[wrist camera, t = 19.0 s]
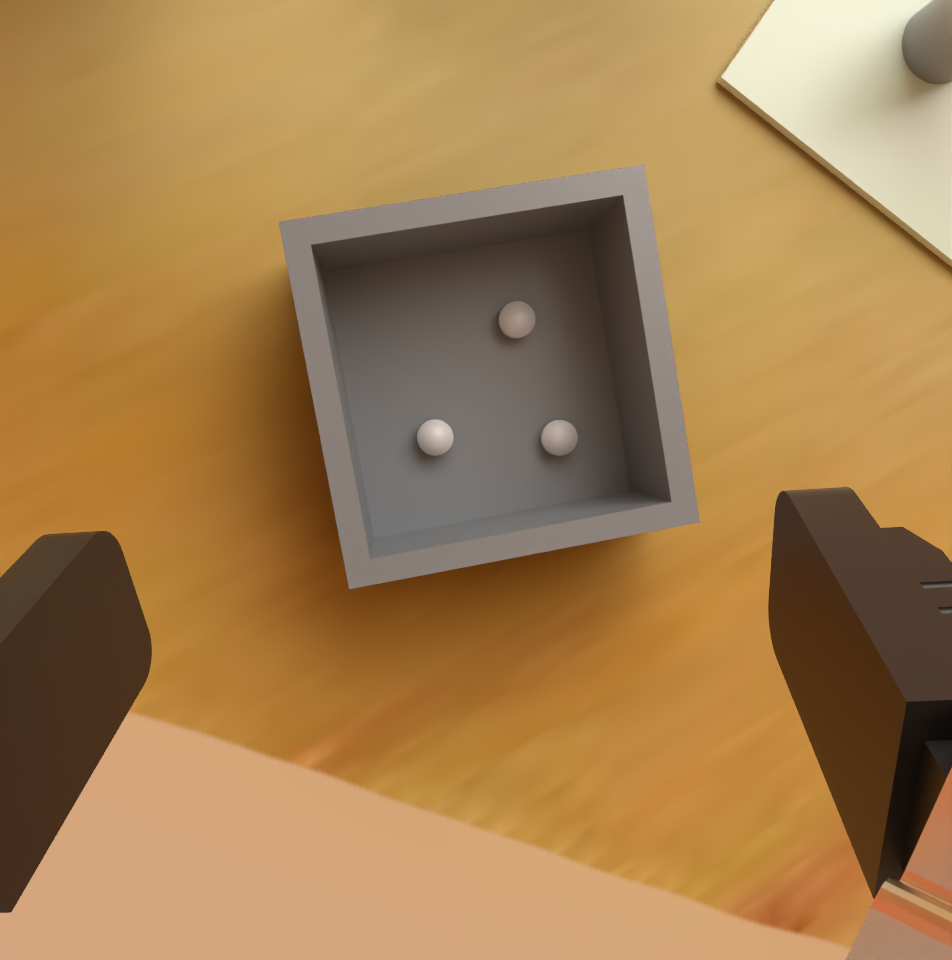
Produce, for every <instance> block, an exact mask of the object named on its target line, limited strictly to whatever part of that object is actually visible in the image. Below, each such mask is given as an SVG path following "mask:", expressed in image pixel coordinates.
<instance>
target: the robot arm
mask: <svg viewBox="0 0 952 960" xmlns="http://www.w3.org/2000/svg"><path fill="white" fill-rule="evenodd" d="M768 609H769V626H770V633H771V639H772V644H773V648H774V652H775V655H776V658H777V660H778V663H779V665H780V668H781V670H782V673H783V675H784V678H785V680H786V683H787V685H788V688H789V690H790V693H791V695H792V698H793V700H794V703H795V705H796V708H797V710H798V713H799V715H800V717H801V720H802V722H803V725H804V727H805V730H806V732H807V735H808V737H809V740H810V742H811V745H812V747H813V750H814V752H815V755H816V757H817V760H818V762H819V765H820V767H821V770H822V772H823V774H824V777H825V779H826V782H827V784H828V787H829V789H830V792H831V794H832V797H833V799H834V802H835V804H836V807H837V809H838V812H839V814H840V817H841V819H842V822H843V824H844V827H845V829H846V832H847V834H848V836H849V839H850V841H851V844H852V846H853V849H854V851H855V854H856V856H857V859H858V861H859V864H860V866H861V869H862V871H863V874H864V876H865V879H866V881H867V884H868V886H869V889H870V891H871V893H872V896H873V898H874V901H873V903H872V905H871V907H870V909H869V911H868V914H867V916H866V918H865V920H864V922H863V924H862V926H861V928H860V931H859V933H858V935H857V937H856V939H855V941H854V943H853V945H852V947H851V950H850V952H849V954H848V956H847V958H846V960H952V562H951V561H950V560H949V559H948V557H947V556H946V555H945V554H944V553H943V551H942V550H940V549H938V548H937V547H935V546H933V545H932V544H930V543H928V542H927V541H925V540H923V539H922V538H920V537H918V536H917V535H915V534H913V533H912V532H910V531H909V530H907V529H905V528H904V527H892V528H880V527H879V525H878V524H877V523H876V521H875V520H874V518H873V517H872V516H871V514H870V513H869V511H868V510H867V509H866V507H865V506H864V504H863V503H862V502H861V500H860V499H859V498H858V496H857V495H856V493H855V492H854V491H853V490H852V489H851V488H849V487H841V488H824V489H808V490H791V491H782V492H780V494H779V495H778V498H777V501H776V506H775V516H774V530H773V545H772V559H771V574H770V588H769V605H768ZM151 655H152V647H151V638H150V633H149V630H148V627H147V624H146V621H145V618H144V615H143V612H142V609H141V606H140V603H139V600H138V597H137V594H136V591H135V588H134V585H133V582H132V579H131V576H130V573H129V570H128V567H127V564H126V561H125V558H124V555H123V552H122V549H121V546H120V544H119V543H118V541H117V539H116V538H115V537H114V536H113V535H112V534H111V533H109V532H107V531H94V532H78V533H62V534H47V535H43V536H41V537H40V538H39V539H37V540H36V541H35V542H34V543H33V544H32V545H31V546H30V547H29V549H28V550H27V551H26V552H25V553H24V554H23V555H22V556H21V557H20V558H19V559H18V560H17V561H16V562H15V563H14V564H13V565H12V566H11V567H10V568H9V569H8V570H7V571H6V572H5V573H4V575H3V576H2V577H1V578H0V913H3V912H4V913H8V912H12V910H13V908H14V907H15V905H16V903H17V901H18V900H19V898H20V896H21V895H22V893H23V891H24V889H25V888H26V886H27V884H28V883H29V881H30V879H31V877H32V876H33V874H34V872H35V870H36V869H37V867H38V865H39V864H40V862H41V860H42V859H43V857H44V855H45V853H46V852H47V850H48V848H49V847H50V845H51V843H52V841H53V840H54V838H55V836H56V835H57V833H58V831H59V830H60V827H61V826H62V824H63V823H64V821H65V819H66V818H67V816H68V814H69V812H70V811H71V809H72V807H73V806H74V804H75V802H76V800H77V799H78V797H79V795H80V793H81V792H82V790H83V788H84V787H85V785H86V783H87V782H88V780H89V778H90V776H91V775H92V773H93V771H94V769H95V768H96V766H97V764H98V763H99V761H100V759H101V758H102V756H103V754H104V752H105V750H106V749H107V747H108V745H109V744H110V742H111V740H112V739H113V737H114V735H115V734H116V732H117V730H118V728H119V727H120V725H121V723H122V721H123V720H124V718H125V716H126V715H127V713H128V711H129V710H130V708H131V706H132V704H133V703H134V701H135V699H136V698H137V696H138V694H139V692H140V691H141V689H142V687H143V686H144V684H145V682H146V679H147V677H148V674H149V670H150V665H151Z"/></svg>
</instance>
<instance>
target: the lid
mask: <svg viewBox="0 0 952 960" xmlns="http://www.w3.org/2000/svg"><path fill="white" fill-rule="evenodd" d="M717 83H719V84H720V85H721V86H722V87H724V88H725V89H726V90H728V91H729V92H730V93H731V94H733V95H734V96H735V97H736V98H738V99H739V100H740V101H741V102H743V103H744V104H745V105H747V106H748V107H749V108H750V109H752V110H753V111H754V112H755V113H757V114H758V115H759V116H760V117H762V118H763V119H764V120H766V121H767V122H768V123H769V124H771V125H772V126H773V127H774V128H776V129H777V130H778V131H779V132H781V133H782V134H783V135H785V136H786V137H787V138H788V139H790V140H791V141H792V142H793V143H795V144H796V145H797V146H798V147H800V148H801V149H802V150H804V151H805V152H806V153H807V154H809V155H810V156H811V157H812V158H814V159H815V160H816V161H817V162H819V163H820V164H821V165H823V166H824V167H825V168H826V169H828V170H829V171H830V172H831V173H833V174H834V175H835V176H836V177H838V178H839V179H840V180H842V181H843V182H844V183H845V184H847V185H848V186H849V187H850V188H852V189H853V190H854V191H855V192H857V193H858V194H859V195H861V196H862V197H863V198H864V199H866V200H867V201H868V202H869V203H871V204H872V205H873V206H874V207H876V208H877V209H878V210H880V211H881V212H882V213H883V214H885V215H886V216H887V217H888V218H890V219H891V220H892V221H893V222H895V223H896V224H897V225H899V226H900V227H901V228H902V229H904V230H905V231H906V232H907V233H909V234H910V235H911V236H912V237H914V238H915V239H916V240H918V241H919V242H920V243H921V244H923V245H924V246H925V247H926V248H928V249H929V250H930V251H932V252H933V253H934V254H935V255H937V256H938V257H939V258H940V259H942V260H943V261H944V262H945V263H947V264H948V265H949V266H951V267H952V0H773V2H772V3H771V5H770V6H769V7H768V9H767V10H766V12H765V13H764V15H763V16H762V18H761V19H760V20H759V22H758V23H757V25H756V26H755V28H754V29H753V31H752V32H751V33H750V35H749V36H748V38H747V39H746V41H745V42H744V43H743V45H742V46H741V48H740V49H739V51H738V52H737V54H736V55H735V56H734V58H733V59H732V61H731V62H730V64H729V65H728V67H727V68H726V69H725V71H724V72H723V74H722V75H721V77H720V78H719V79H718V81H717Z"/></svg>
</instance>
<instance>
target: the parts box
mask: <svg viewBox="0 0 952 960" xmlns="http://www.w3.org/2000/svg"><path fill="white" fill-rule="evenodd" d="M279 226H280V231H281V236H282V242H283V247H284V252H285V257H286V262H287V268H288V273H289V278H290V283H291V289H292V294H293V299H294V304H295V309H296V315H297V320H298V325H299V330H300V336H301V341H302V346H303V351H304V356H305V362H306V367H307V372H308V377H309V383H310V388H311V393H312V398H313V403H314V409H315V414H316V419H317V424H318V430H319V435H320V440H321V445H322V451H323V456H324V461H325V466H326V471H327V477H328V482H329V487H330V492H331V498H332V503H333V508H334V513H335V518H336V524H337V529H338V534H339V539H340V545H341V550H342V555H343V560H344V565H345V571H346V576H347V581H348V586H349V589H354V588H359V587H364V586H370V585H375V584H380V583H385V582H390V581H396V580H401V579H406V578H411V577H417V576H422V575H427V574H432V573H437V572H443V571H448V570H453V569H458V568H464V567H469V566H474V565H479V564H484V563H490V562H495V561H500V560H505V559H511V558H516V557H521V556H526V555H531V554H537V553H542V552H547V551H552V550H558V549H563V548H568V547H573V546H578V545H584V544H589V543H594V542H599V541H604V540H610V539H615V538H620V537H625V536H631V535H636V534H641V533H646V532H651V531H657V530H662V529H667V528H672V527H678V526H683V525H688V524H693V523H698V522H700V520H699V513H698V507H697V500H696V494H695V488H694V481H693V475H692V468H691V462H690V455H689V449H688V443H687V436H686V430H685V423H684V417H683V410H682V404H681V398H680V391H679V385H678V378H677V372H676V365H675V359H674V353H673V346H672V340H671V333H670V327H669V320H668V314H667V308H666V301H665V295H664V288H663V282H662V275H661V269H660V263H659V256H658V250H657V243H656V237H655V230H654V224H653V218H652V211H651V205H650V198H649V192H648V185H647V179H646V173H645V166H644V165H638V166H631V167H625V168H619V169H612V170H606V171H599V172H593V173H587V174H580V175H574V176H568V177H561V178H555V179H548V180H542V181H536V182H529V183H523V184H517V185H510V186H504V187H498V188H491V189H485V190H478V191H472V192H466V193H459V194H453V195H447V196H440V197H434V198H427V199H421V200H415V201H408V202H402V203H396V204H389V205H383V206H376V207H370V208H364V209H357V210H351V211H345V212H338V213H332V214H325V215H319V216H313V217H306V218H300V219H294V220H287V221H281V222H279Z"/></svg>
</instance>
